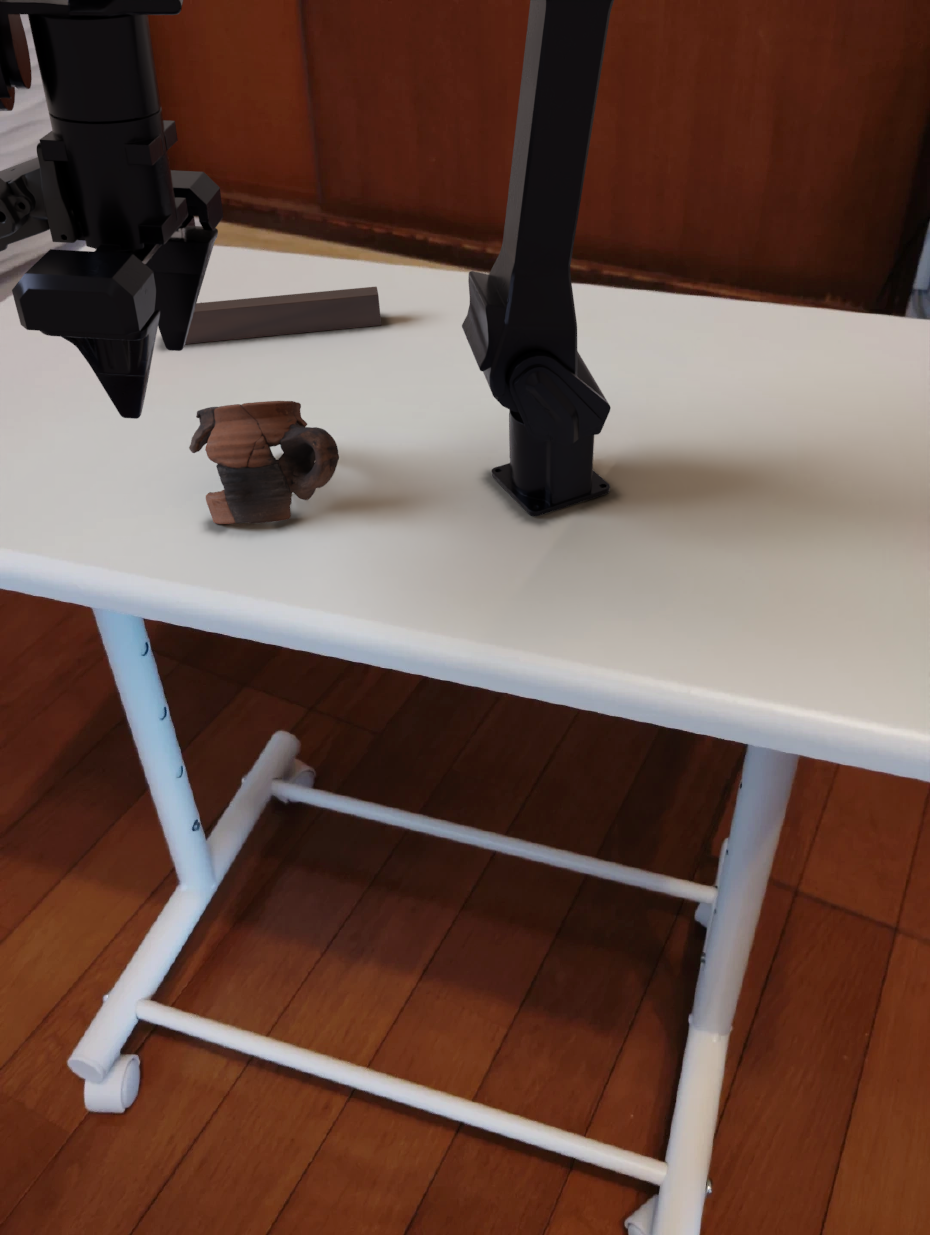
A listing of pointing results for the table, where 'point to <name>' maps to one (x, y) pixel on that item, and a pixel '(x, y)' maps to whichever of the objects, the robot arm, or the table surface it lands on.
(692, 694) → the table surface
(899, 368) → the table surface
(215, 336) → the rail
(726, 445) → the table surface
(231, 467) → the pottery mug
